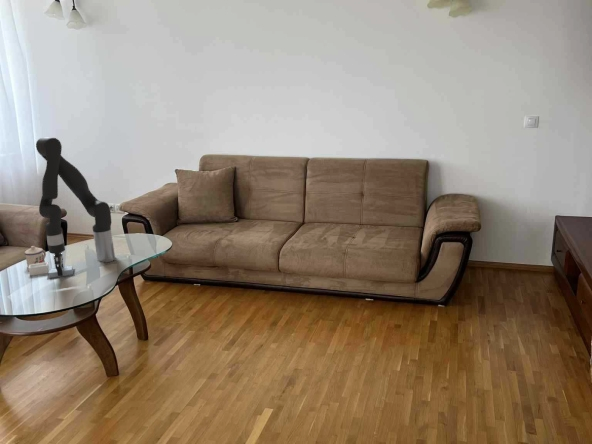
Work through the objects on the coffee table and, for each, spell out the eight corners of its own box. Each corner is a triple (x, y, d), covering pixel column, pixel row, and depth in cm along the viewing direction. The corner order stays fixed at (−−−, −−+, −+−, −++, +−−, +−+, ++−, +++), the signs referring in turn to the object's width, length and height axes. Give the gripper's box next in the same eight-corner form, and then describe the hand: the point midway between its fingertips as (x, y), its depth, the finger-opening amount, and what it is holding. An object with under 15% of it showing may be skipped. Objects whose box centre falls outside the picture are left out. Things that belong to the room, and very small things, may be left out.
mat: (75, 270, 291) (75, 268, 291) (74, 277, 282) (74, 275, 282) (48, 274, 287) (48, 272, 287) (47, 281, 278) (46, 279, 278)
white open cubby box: (49, 270, 293) (48, 261, 291) (49, 274, 288) (47, 265, 286) (31, 273, 290) (29, 264, 289) (30, 277, 285) (28, 268, 284)
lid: (73, 270, 289) (72, 265, 288) (72, 274, 283) (71, 269, 283) (50, 273, 286) (49, 269, 285) (49, 277, 280) (48, 273, 279)
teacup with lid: (36, 270, 294) (32, 249, 291) (23, 269, 297) (19, 248, 294) (53, 262, 305) (49, 242, 302) (40, 261, 308) (36, 241, 305)
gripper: (62, 245, 274) (68, 276, 279) (64, 237, 287) (69, 267, 292) (46, 247, 272) (51, 278, 277) (48, 239, 285) (54, 269, 290)
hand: (60, 272), depth 284 cm, fingers open, 8 cm apart
